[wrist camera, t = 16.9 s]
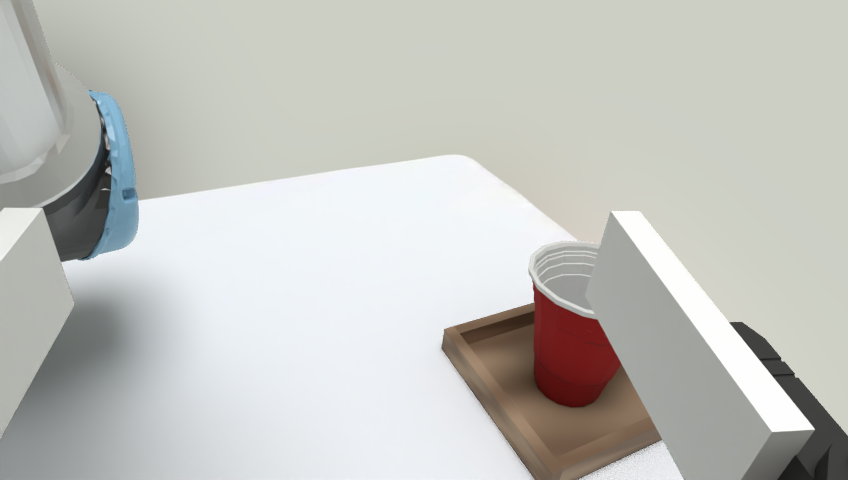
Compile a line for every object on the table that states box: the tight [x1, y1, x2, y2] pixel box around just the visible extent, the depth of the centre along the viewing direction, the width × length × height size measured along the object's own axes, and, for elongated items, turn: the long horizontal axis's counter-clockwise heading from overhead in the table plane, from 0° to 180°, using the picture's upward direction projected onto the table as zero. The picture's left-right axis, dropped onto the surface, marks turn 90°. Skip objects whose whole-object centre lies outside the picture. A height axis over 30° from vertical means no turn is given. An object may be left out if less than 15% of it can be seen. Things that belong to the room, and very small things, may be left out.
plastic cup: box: [528, 241, 621, 407], centre depth 48 cm, size 11×11×12 cm
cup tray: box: [442, 303, 662, 480], centre depth 51 cm, size 16×16×2 cm
